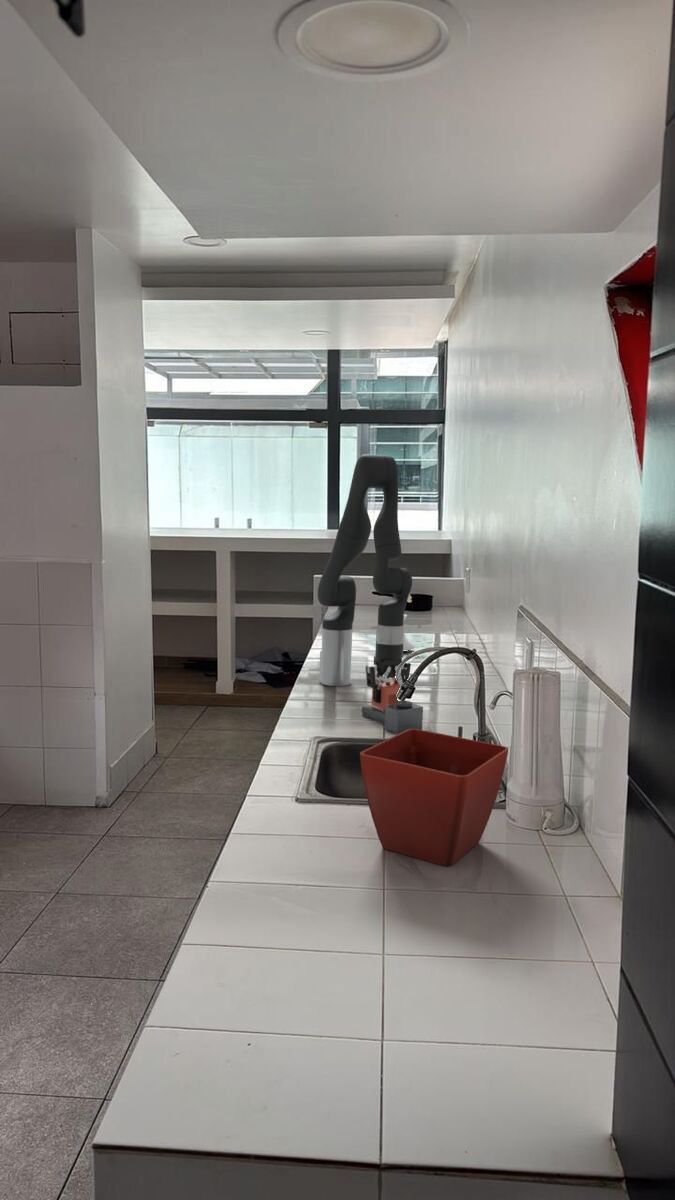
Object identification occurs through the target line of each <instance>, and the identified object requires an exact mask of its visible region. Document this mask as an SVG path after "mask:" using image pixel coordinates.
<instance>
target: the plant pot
mask: <svg viewBox="0 0 675 1200" xmlns="http://www.w3.org/2000/svg"><path fill="white" fill-rule="evenodd" d="M508 755H509V747H508V746H504V745H500V744H494V743H490V742H485V741H484V742H483V741H480V740H475V739H470V738H464V737H460V736H454V735H449V734H445V733H441V732H440V733H438V732H434V731H429V730H424V729H422V730H419V729H408V730H406V731H403V732H401V733H399V734H395V735H393V736H391V737H389V738H387V739H385V740H383V741H381V742H379V743H377V744H375V745H372V746H371V747H368V748H366V749H364V750H362V751H360V753H359V759H360V767H361V774H362V780H363V786H364V791H365V794H366V799H367V803H368V807H369V811H370V814H371V818H372V821H373V824H374V827H375V830H376V833H377V837H378V840H379V842H380V844H381V847H382V848H383V849H385V850H387V851H389V852H390V851H391V852H394V853H397V854H401V855H405V856H409V857H411V858H412V857H413V858H416V859H419V860H422V861H425V862H430V863H434V864H437V865H441V866H445V867H450V866H453V865H454V864H455V863H457V861H459V860H460V859H461V858H462V857H464V855H466V854H467V853H468V852H469V851H471V850H472V849H473V848H474V847H475V846H476V845H478V844H479V843H480V841H481V839H482V837H483V834H484V833H485V829H486V827H487V825H488V822H489V821H490V820H489V819H490V817H491V814H492V811H493V809H494V806H495V803H496V800H497V797H498V794H499V791H500V788H501V785H502V781H503V777H504V776H503V775H504V772H505V768H506V763H507V759H508Z"/></svg>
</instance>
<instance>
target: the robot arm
mask: <svg viewBox="0 0 675 1200" xmlns="http://www.w3.org/2000/svg"><path fill="white" fill-rule="evenodd" d="M369 489H382V494H383V501H382V507H381V509H380V510H379V513H378V515H377V518H376V520H375V522H374V526H373V532H371V531H372V522H371V518H370V516H369V513H368V510H367V506H366V502H365V500H366V495H367V491H368V490H369ZM398 503H399V473H398V465H397V462H396V459H395V458H394V457H393V456H391V455H388V454H387V455H386V454H374V453H371V454H370V453H369V454H368V453H366V454H365V453H364V454H363V453H362V455H360V456H359V457H358V458H357V460H356V463H355V465H354V469H353V474H352V477H351V483H350V488H349V494H348V497H347V501H346V504H345V507H344V512H343V515H342V517H341V521H340V523H339V525H338V530H337V532H336V537H335V539H334V540H335V541H334V543H333V546H332V551H331V552H330V556H329V559H328V561H327V563H326V565H325V568H324V571H323V573H322V575H321V577H320V580H319V582H318V587H317V601H318V603H319V604H320V605H321V606H322V607H323V606H324V607H337V609H336V610H335V612H333V613H332V614H329V615H328V616H326V617H324V618H323V619H322V621H321V622H322V626H321V629H322V630H321V650H320V652H319V680H318V681H319V682H320V684H321V685H325V686H330V687H332V686H333V687H345V686H349V685H351V680H352V679H351V675H352V673H351V672H352V654H353V653H352V649H353V647H352V646H353V623H354V620H355V609H356V601H357V586H356V582H355V580H354V578H353V577H352V576H350V575H342V574H343V572H344V571H345V570H347V567H349V566H350V565H351V564H352V563H353V562H354V561H355V560H357V558H358V557H360V556H361V555H362V553H363V552H364V551H365V549H366V547H367V545H368V541H369V539H370V536H371V533H373V541H374V543H373V544H374V551H375V560H374V561H375V563H374V570H373V575H372V585H373V588H374V589H375V591H376V592H377V593H378V594H380V595H393V596H392V598H391V599H390V600H388V601H385V602H382V603H380V604H379V605H378V610H377V627H376V633H375V653H374V654H375V655H374V656H376V663H375V665H373V664H372V665H368V664H367V665H366V666H365V674H366V686H367V687H368V688H371V689H372V688H373V700H374V702H376V703H381V690H380V689H381V687H382V685H383V683H384V682H385V680H386V679H387V678H390V677H391V678H392V679H393V682H394V683H396V684H399V685H401V684H403V683H404V682H406V681H407V679H408V678H409V679H410V673H411V666H412V664H411V662H407V661H405V662H406V663H405V664H404V665H403V666H402V667H401V674H400V672H398V675H397V678H398V682H397V680H396V675H395V673H396V669H397V667H398V665H399V664H400V663H401V662H403V658H404V652H403V644H404V636H405V631H404V623H405V620H404V614H405V609H406V606H407V603H408V602H407V599H408V596H409V594H410V593H411V590H412V587H413V577H412V574H411V572H410V570H408V568H406V567H389V563H390V562H392V561H396V560H398V559H400V558H401V556H402V546H401V538H400V530H399V520H398V518H399V516H398V514H399V513H398V510H399V504H398ZM401 659H402V660H401ZM376 670H377V673H376ZM375 673H376V675H375ZM380 676H381V677H382V678H380Z"/></svg>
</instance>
